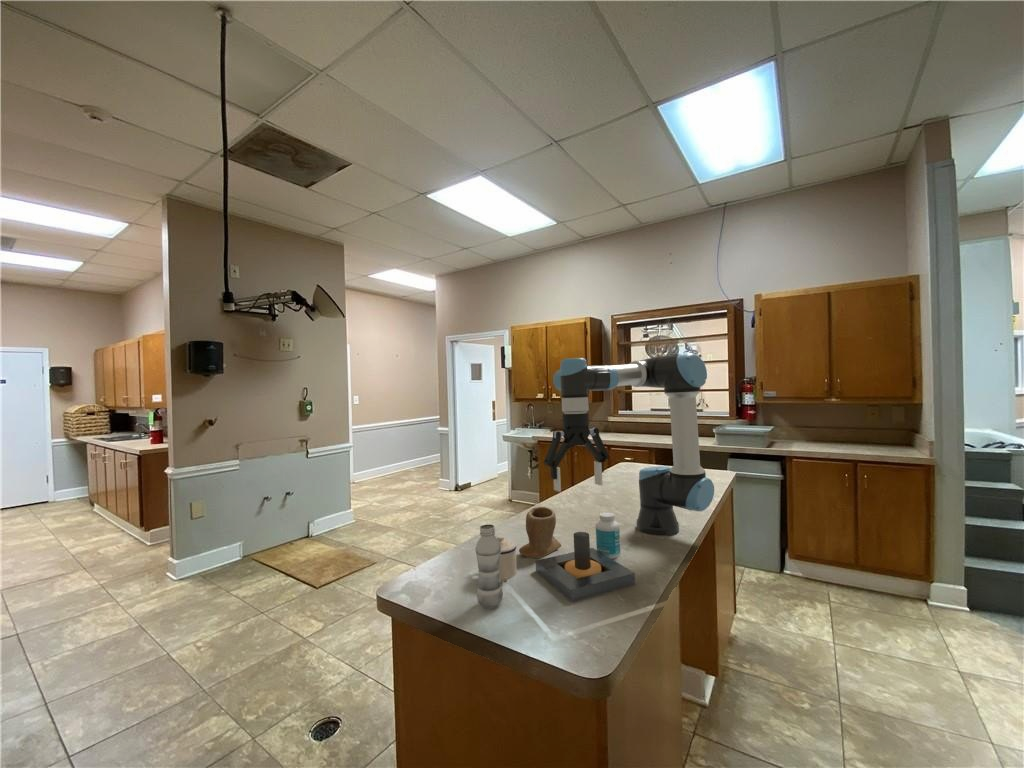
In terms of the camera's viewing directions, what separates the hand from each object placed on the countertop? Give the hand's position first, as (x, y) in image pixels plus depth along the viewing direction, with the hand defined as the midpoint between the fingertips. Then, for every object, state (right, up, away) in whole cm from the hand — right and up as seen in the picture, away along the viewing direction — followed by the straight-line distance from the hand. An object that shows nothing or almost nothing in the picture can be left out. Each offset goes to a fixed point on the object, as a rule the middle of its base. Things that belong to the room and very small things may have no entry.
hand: (578, 487), depth 116 cm
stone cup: (-9, -27, +20) cm, 35 cm away
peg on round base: (+1, -25, 0) cm, 25 cm away
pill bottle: (+12, -26, +15) cm, 33 cm away
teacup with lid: (-23, -28, +6) cm, 36 cm away
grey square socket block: (+1, -26, 0) cm, 26 cm away
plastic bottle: (-24, -27, -11) cm, 38 cm away
